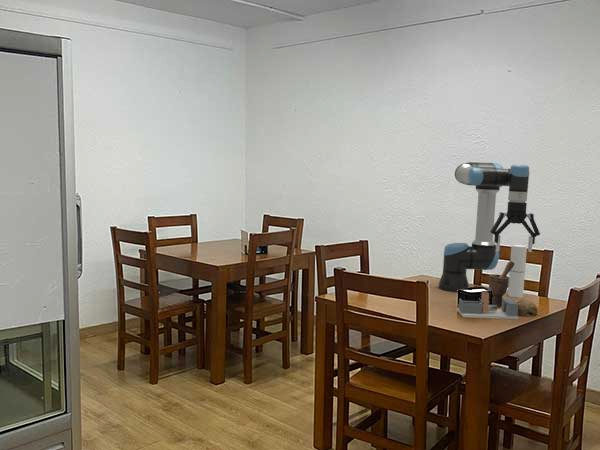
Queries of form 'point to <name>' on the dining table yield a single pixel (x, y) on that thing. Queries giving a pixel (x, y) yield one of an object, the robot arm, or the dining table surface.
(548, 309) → the dining table surface
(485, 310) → the slip tube
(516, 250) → the cylindrical container
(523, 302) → the bread roll
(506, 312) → the guide base
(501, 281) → the mortar and pestle
